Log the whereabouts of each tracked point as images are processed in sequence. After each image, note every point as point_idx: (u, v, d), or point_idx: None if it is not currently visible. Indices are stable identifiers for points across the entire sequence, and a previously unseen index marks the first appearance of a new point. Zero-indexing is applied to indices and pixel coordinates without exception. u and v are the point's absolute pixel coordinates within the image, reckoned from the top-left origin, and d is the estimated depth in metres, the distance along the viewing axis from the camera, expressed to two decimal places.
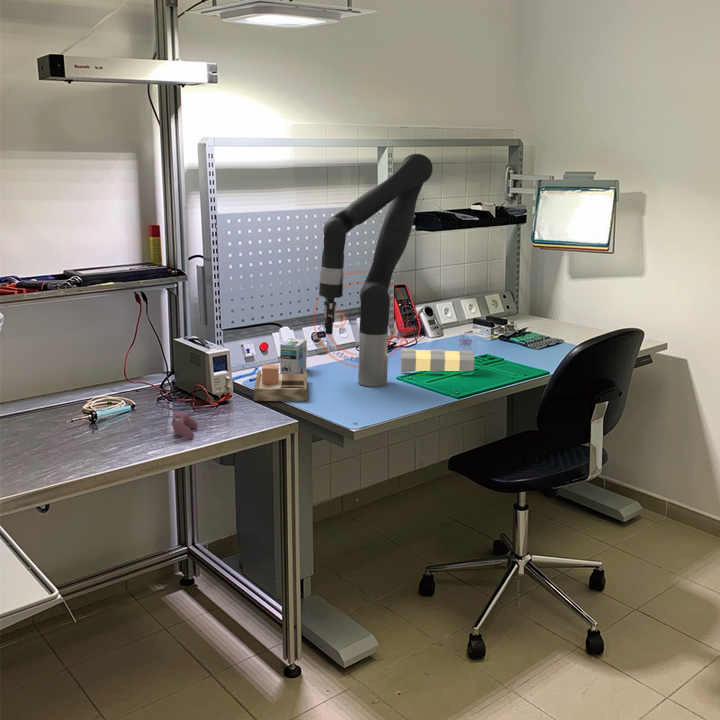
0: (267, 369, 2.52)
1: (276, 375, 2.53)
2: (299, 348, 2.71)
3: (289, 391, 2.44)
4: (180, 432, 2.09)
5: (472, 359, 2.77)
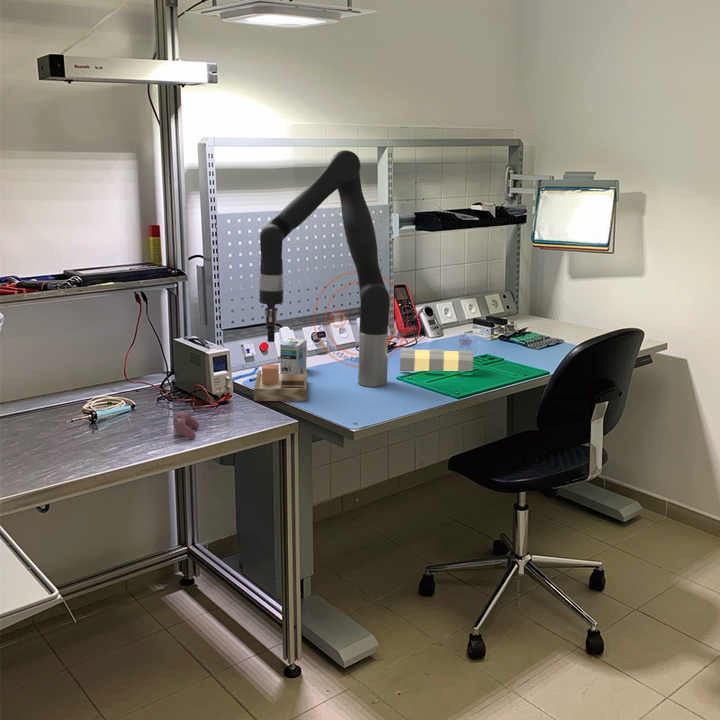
0: (267, 369, 2.52)
1: (276, 375, 2.53)
2: (299, 348, 2.71)
3: (289, 391, 2.44)
4: (182, 432, 2.09)
5: (471, 359, 2.77)
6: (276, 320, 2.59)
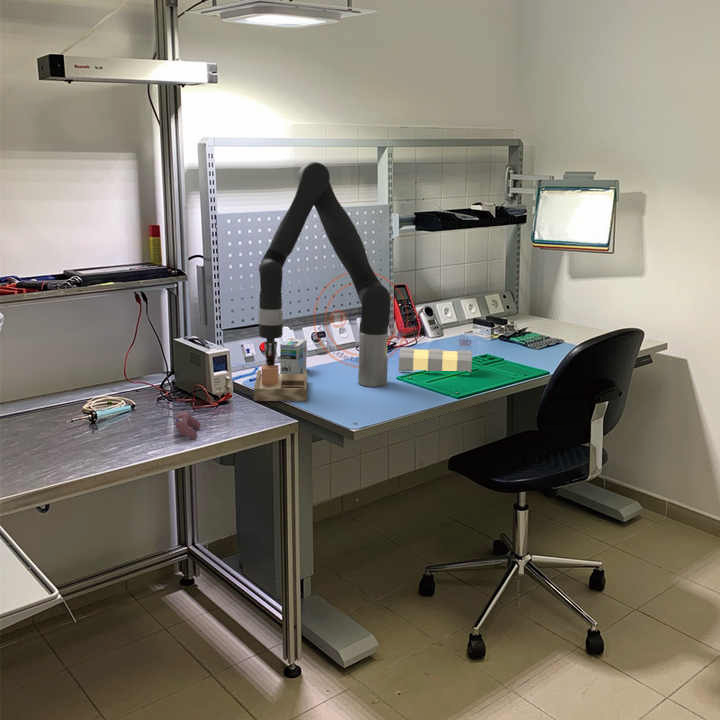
0: (267, 369, 2.52)
1: (276, 376, 2.52)
2: (299, 348, 2.71)
3: (289, 391, 2.44)
4: (183, 432, 2.09)
5: (470, 359, 2.76)
6: None
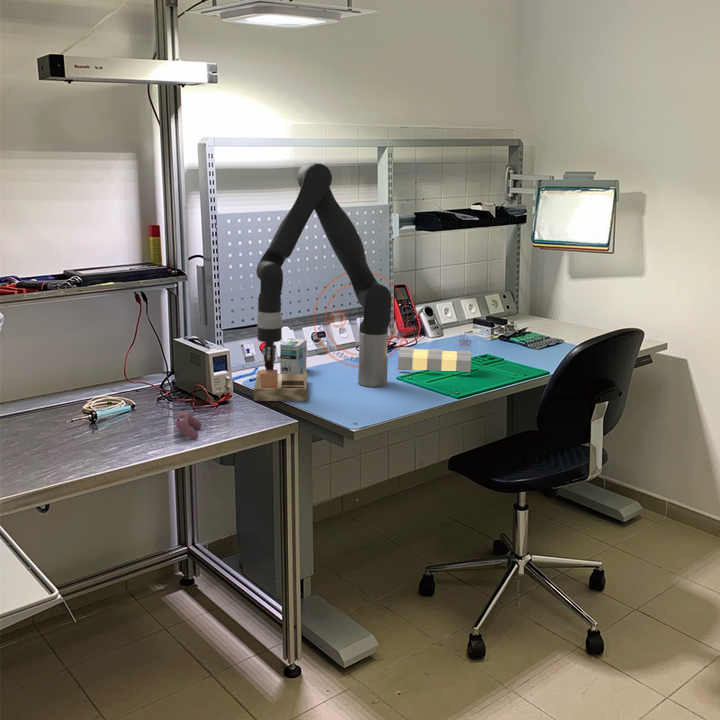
0: (265, 374, 2.46)
1: (275, 380, 2.47)
2: (299, 348, 2.71)
3: (289, 391, 2.44)
4: (184, 432, 2.09)
5: (469, 360, 2.76)
6: None
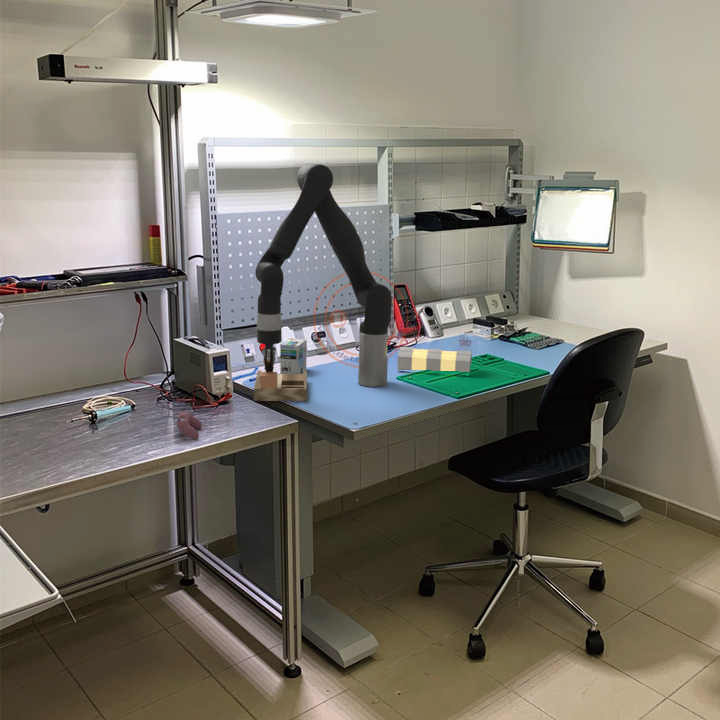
0: (265, 377, 2.44)
1: (274, 383, 2.44)
2: (299, 348, 2.71)
3: (289, 391, 2.44)
4: (185, 432, 2.09)
5: (468, 360, 2.76)
6: None
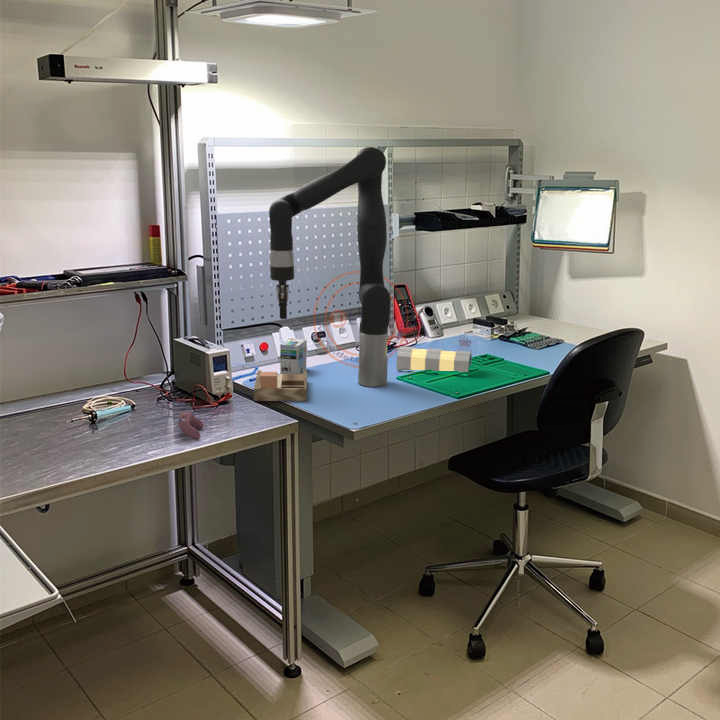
0: (265, 377, 2.44)
1: (274, 383, 2.44)
2: (299, 348, 2.71)
3: (289, 391, 2.44)
4: (186, 432, 2.09)
5: (467, 360, 2.76)
6: None
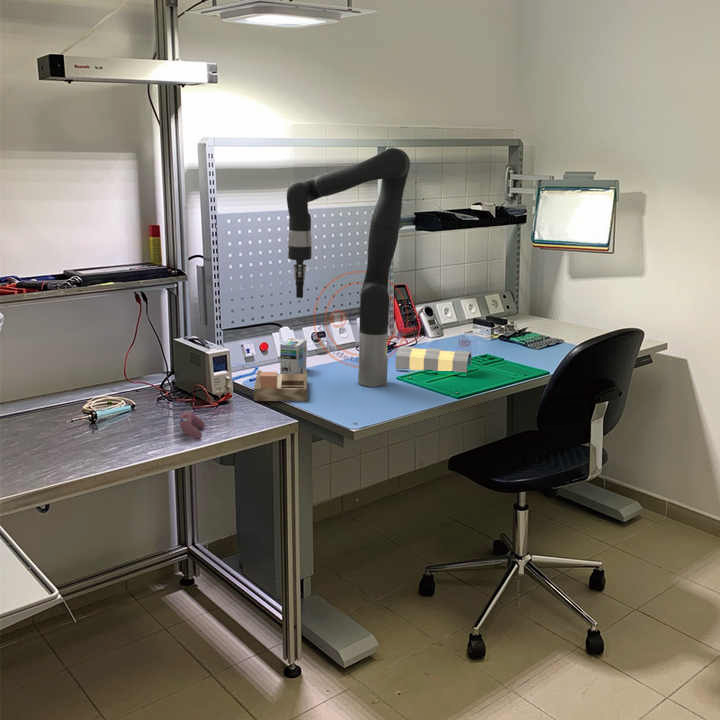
0: (265, 377, 2.44)
1: (274, 383, 2.44)
2: (299, 348, 2.71)
3: (289, 391, 2.44)
4: (188, 432, 2.09)
5: (465, 360, 2.75)
6: None
